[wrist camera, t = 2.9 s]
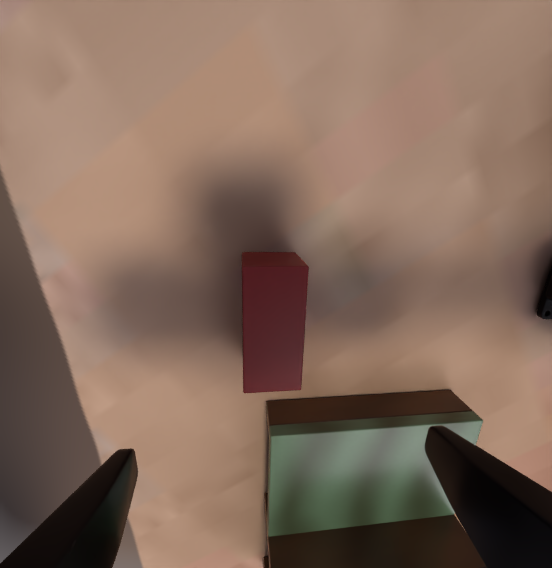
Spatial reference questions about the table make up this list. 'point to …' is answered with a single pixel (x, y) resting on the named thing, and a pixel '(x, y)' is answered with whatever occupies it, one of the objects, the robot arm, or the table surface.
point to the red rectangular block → (273, 320)
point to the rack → (363, 483)
